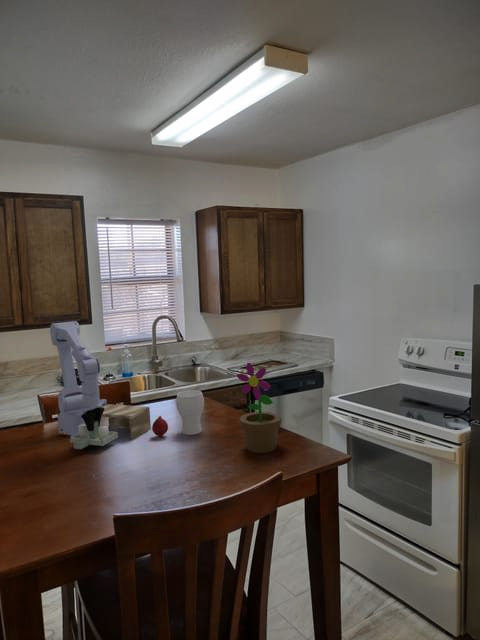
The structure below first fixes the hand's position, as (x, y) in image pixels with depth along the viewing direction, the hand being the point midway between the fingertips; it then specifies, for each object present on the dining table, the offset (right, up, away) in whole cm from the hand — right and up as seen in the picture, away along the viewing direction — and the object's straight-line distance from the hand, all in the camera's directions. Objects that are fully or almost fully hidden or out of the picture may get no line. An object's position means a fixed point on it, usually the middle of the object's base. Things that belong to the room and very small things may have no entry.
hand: (93, 429), depth 164 cm
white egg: (+4, -3, -1) cm, 5 cm away
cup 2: (+34, -4, +11) cm, 36 cm away
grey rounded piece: (-4, -3, +2) cm, 6 cm away
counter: (+6, -5, +14) cm, 16 cm away
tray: (-1, -4, -2) cm, 4 cm away
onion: (+23, -5, +7) cm, 24 cm away
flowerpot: (+60, -4, -8) cm, 61 cm away
